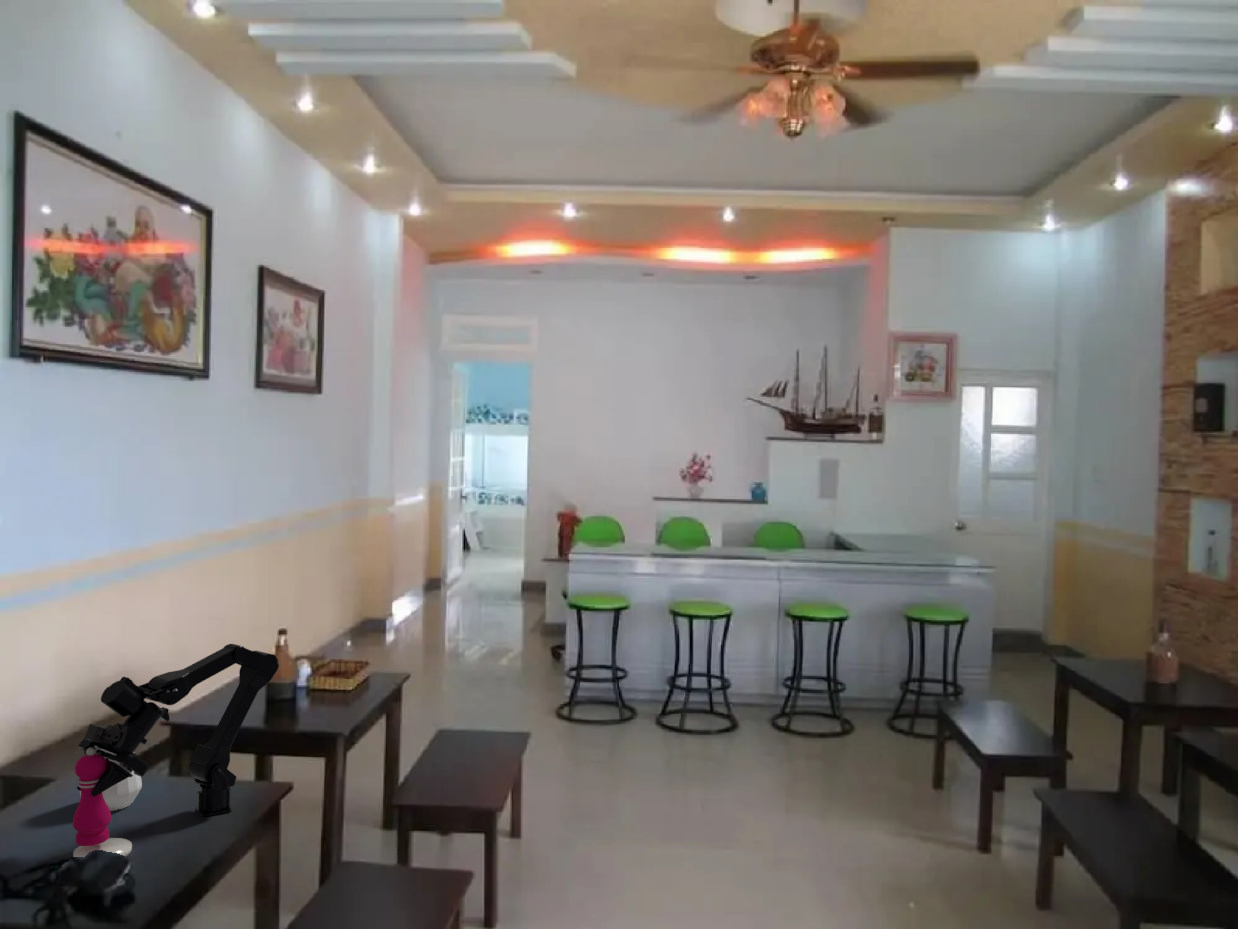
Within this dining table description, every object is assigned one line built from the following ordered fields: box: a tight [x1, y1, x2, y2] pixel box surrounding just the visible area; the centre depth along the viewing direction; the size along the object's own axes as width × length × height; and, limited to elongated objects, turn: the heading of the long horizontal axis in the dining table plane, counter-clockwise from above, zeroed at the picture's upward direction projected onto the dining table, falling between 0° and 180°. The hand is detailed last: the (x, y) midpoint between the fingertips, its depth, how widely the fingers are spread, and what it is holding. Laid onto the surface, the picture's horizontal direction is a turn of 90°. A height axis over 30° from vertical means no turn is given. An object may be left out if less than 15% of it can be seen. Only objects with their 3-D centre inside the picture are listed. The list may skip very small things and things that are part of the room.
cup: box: [79, 759, 143, 812], centre depth 233 cm, size 13×13×14 cm
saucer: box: [72, 837, 133, 858], centre depth 206 cm, size 11×11×1 cm
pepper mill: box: [72, 747, 112, 847], centre depth 207 cm, size 7×7×20 cm
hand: (85, 792), depth 205 cm, fingers closed on pepper mill, 5 cm apart
